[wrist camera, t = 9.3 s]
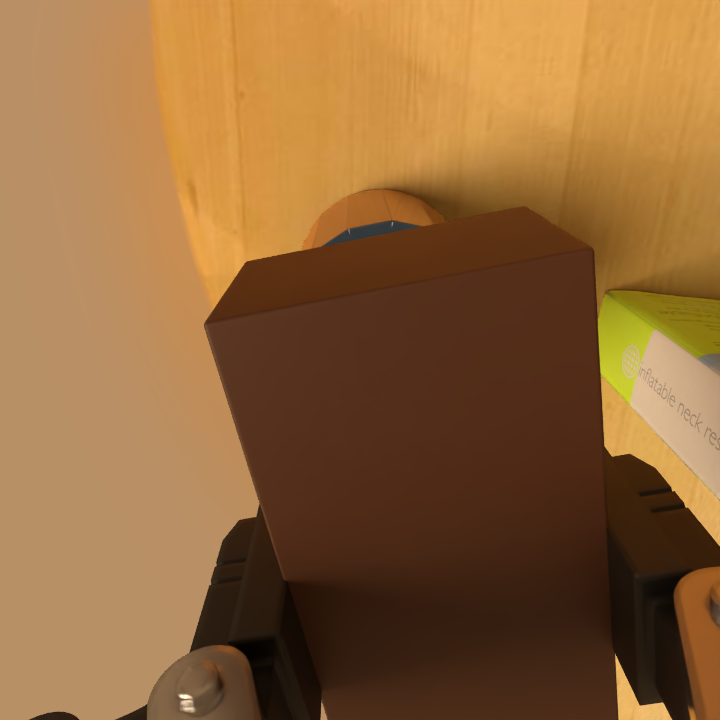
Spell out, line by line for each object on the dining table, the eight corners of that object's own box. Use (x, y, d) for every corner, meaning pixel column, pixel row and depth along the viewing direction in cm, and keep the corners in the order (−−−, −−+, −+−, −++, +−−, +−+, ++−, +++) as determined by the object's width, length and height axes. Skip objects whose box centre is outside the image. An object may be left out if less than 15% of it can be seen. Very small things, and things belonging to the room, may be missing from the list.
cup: (319, 355, 30) (308, 439, 22) (283, 206, 27) (258, 246, 20) (467, 328, 29) (506, 404, 22) (447, 173, 27) (483, 202, 19)
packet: (568, 666, 13) (624, 814, 11) (364, 697, 14) (367, 848, 11) (525, 205, 10) (596, 247, 7) (244, 261, 10) (201, 323, 7)
